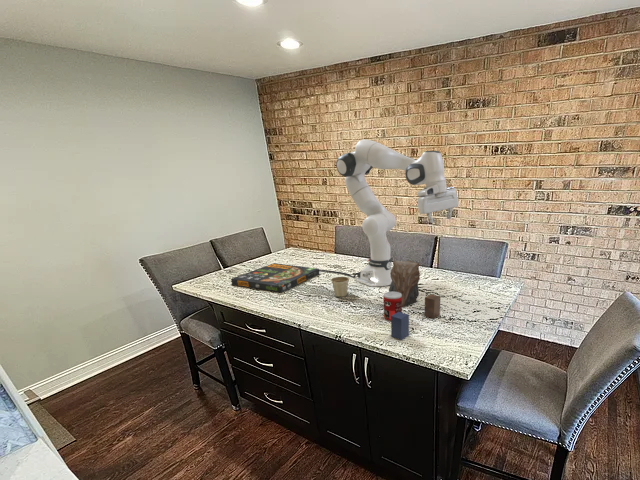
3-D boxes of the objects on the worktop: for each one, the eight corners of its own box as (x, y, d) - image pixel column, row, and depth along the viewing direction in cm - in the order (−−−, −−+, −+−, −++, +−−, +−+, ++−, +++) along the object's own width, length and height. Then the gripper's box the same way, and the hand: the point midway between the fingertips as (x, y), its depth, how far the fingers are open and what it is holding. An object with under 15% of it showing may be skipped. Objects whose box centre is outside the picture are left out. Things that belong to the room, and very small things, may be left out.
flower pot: (353, 292, 179) (352, 277, 175) (345, 299, 170) (343, 283, 167) (337, 291, 181) (336, 275, 178) (328, 297, 173) (327, 281, 170)
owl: (387, 299, 170) (387, 261, 162) (408, 294, 176) (409, 257, 168) (401, 307, 160) (401, 267, 152) (422, 302, 166) (423, 263, 158)
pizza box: (232, 284, 192) (230, 278, 191) (274, 268, 222) (273, 263, 221) (281, 292, 180) (280, 286, 178) (319, 274, 210) (318, 268, 208)
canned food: (383, 314, 153) (383, 291, 149) (401, 313, 154) (401, 291, 149) (384, 321, 146) (383, 297, 142) (402, 320, 146) (402, 297, 142)
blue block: (391, 336, 133) (390, 315, 130) (398, 331, 137) (398, 311, 133) (401, 340, 130) (401, 319, 127) (408, 335, 134) (409, 314, 131)
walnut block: (424, 316, 151) (424, 297, 147) (430, 312, 155) (430, 294, 151) (433, 318, 148) (434, 299, 145) (439, 315, 152) (440, 296, 148)
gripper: (450, 186, 156) (454, 216, 160) (414, 193, 147) (418, 225, 151) (459, 185, 151) (463, 216, 155) (421, 191, 142) (426, 224, 146)
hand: (441, 220), depth 153 cm, fingers open, 8 cm apart
